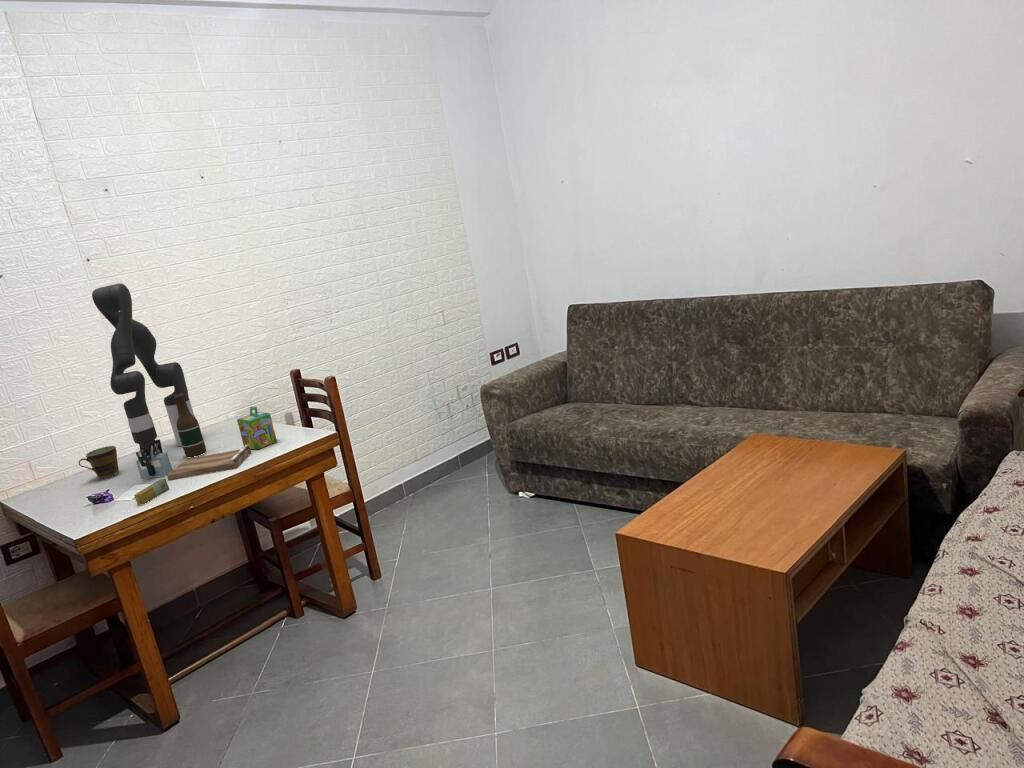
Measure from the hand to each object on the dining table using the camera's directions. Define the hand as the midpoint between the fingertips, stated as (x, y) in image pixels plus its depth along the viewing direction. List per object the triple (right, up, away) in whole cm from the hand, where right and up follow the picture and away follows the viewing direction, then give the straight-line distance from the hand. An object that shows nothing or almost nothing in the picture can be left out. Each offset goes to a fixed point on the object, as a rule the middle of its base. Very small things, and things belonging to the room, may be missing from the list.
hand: (156, 472), depth 260 cm
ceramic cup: (-24, -3, +10) cm, 26 cm away
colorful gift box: (+32, +8, +14) cm, 36 cm away
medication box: (+11, -6, -23) cm, 26 cm away
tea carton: (0, -1, 0) cm, 1 cm away
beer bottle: (+7, +4, +18) cm, 19 cm away
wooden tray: (+20, +2, -1) cm, 20 cm away
